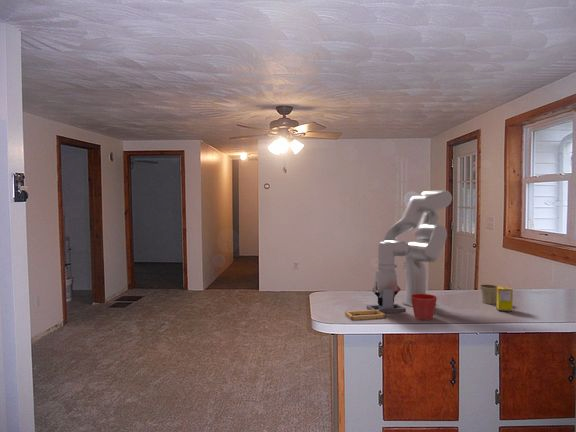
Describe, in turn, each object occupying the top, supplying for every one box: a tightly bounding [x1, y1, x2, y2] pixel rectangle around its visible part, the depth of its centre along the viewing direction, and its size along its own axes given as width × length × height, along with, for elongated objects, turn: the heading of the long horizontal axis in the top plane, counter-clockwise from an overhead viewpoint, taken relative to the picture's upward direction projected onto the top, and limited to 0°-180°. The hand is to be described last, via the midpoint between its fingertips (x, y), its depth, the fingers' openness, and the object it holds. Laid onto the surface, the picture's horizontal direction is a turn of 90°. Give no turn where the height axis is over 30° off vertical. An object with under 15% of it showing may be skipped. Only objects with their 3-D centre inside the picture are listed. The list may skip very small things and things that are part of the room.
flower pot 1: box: [411, 293, 438, 321], centre depth 178 cm, size 11×11×10 cm
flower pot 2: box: [478, 283, 498, 305], centre depth 204 cm, size 9×9×9 cm
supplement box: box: [496, 285, 514, 313], centre depth 189 cm, size 6×6×11 cm
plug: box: [378, 290, 393, 309], centre depth 190 cm, size 5×5×11 cm
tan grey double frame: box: [344, 303, 407, 321], centre depth 185 cm, size 30×16×2 cm, turn 102°
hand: (385, 304), depth 190 cm, fingers closed on plug, 5 cm apart
